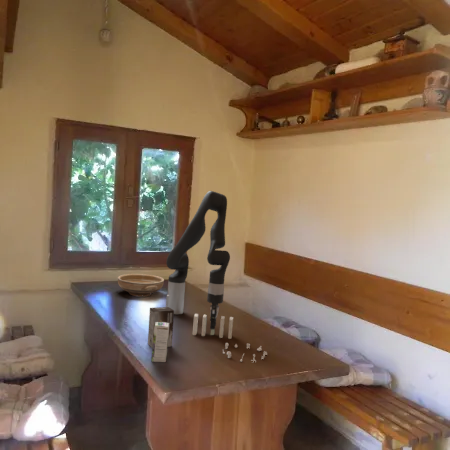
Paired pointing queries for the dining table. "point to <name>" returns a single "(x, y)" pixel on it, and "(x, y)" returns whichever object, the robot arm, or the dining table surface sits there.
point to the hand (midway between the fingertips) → (212, 327)
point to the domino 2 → (204, 325)
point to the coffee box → (160, 316)
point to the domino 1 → (195, 324)
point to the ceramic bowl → (140, 284)
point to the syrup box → (160, 342)
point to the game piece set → (243, 354)
